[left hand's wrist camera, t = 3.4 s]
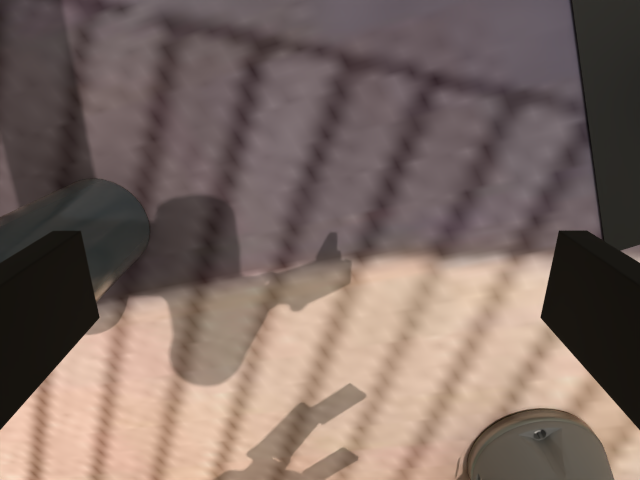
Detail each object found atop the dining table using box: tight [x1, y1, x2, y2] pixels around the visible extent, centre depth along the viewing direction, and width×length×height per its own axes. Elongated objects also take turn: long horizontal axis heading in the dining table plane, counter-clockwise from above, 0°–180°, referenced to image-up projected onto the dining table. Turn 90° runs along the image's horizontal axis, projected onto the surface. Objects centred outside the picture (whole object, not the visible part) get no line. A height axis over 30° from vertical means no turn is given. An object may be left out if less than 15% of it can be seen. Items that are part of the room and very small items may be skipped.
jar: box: [0, 179, 150, 302], centre depth 32 cm, size 9×9×19 cm
